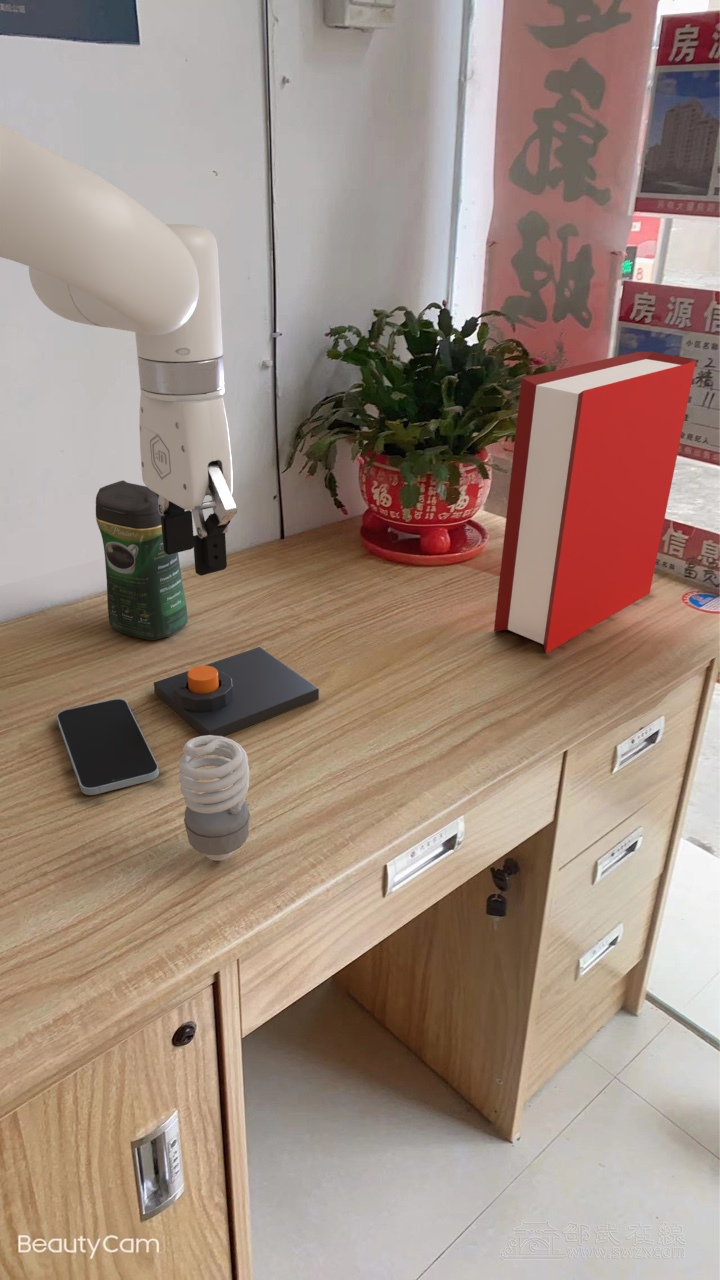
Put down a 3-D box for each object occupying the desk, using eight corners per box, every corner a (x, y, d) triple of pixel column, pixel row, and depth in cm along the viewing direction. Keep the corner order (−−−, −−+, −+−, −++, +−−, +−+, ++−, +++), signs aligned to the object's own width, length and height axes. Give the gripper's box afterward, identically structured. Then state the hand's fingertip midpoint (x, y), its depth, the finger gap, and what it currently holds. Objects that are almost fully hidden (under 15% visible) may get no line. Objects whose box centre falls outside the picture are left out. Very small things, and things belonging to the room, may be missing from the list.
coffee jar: (198, 623, 114) (189, 484, 105) (157, 648, 108) (143, 503, 99) (141, 605, 118) (127, 470, 109) (98, 629, 112) (80, 487, 103)
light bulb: (257, 837, 78) (253, 724, 72) (247, 883, 73) (241, 765, 67) (194, 834, 78) (184, 720, 72) (179, 879, 73) (168, 761, 67)
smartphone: (124, 696, 96) (161, 771, 84) (125, 703, 96) (162, 778, 85) (54, 711, 93) (82, 791, 81) (55, 719, 93) (83, 799, 82)
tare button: (198, 697, 93) (197, 683, 92) (183, 685, 95) (181, 671, 94) (224, 688, 95) (223, 674, 94) (209, 676, 97) (208, 662, 96)
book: (545, 653, 109) (583, 390, 94) (493, 631, 114) (521, 377, 99) (654, 590, 126) (701, 360, 111) (605, 573, 131) (643, 350, 116)
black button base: (208, 742, 90) (207, 718, 89) (154, 693, 98) (151, 670, 97) (319, 699, 98) (319, 675, 97) (259, 656, 106) (259, 634, 105)
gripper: (101, 364, 83) (121, 542, 92) (192, 399, 71) (205, 601, 80) (173, 356, 87) (186, 527, 96) (270, 388, 76) (274, 581, 84)
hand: (194, 559), depth 88 cm, fingers open, 5 cm apart
